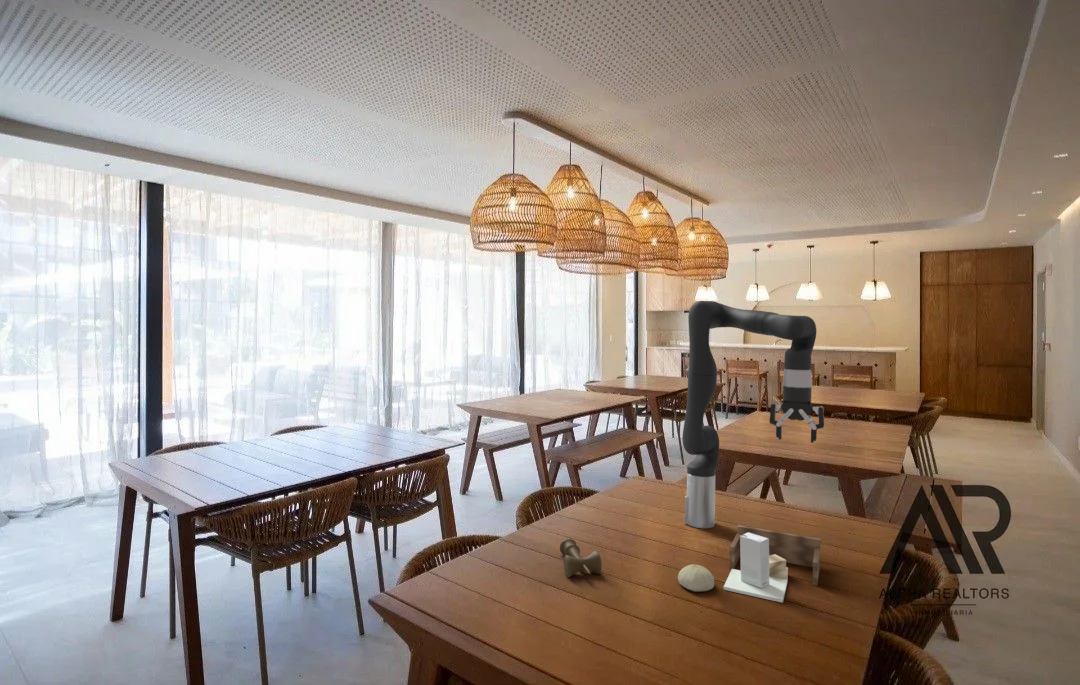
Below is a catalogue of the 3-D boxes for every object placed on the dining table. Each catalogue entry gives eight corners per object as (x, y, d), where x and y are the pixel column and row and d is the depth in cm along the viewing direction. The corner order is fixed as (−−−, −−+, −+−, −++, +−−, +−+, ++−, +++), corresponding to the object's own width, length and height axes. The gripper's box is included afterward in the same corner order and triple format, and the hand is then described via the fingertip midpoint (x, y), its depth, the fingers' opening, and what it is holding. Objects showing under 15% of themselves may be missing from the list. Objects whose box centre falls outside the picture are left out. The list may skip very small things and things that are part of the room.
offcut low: (755, 577, 153) (755, 568, 153) (755, 571, 157) (756, 562, 157) (787, 582, 150) (787, 573, 150) (787, 576, 154) (787, 567, 153)
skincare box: (770, 584, 146) (770, 537, 146) (761, 589, 143) (762, 542, 143) (747, 576, 151) (748, 531, 150) (738, 581, 148) (739, 535, 148)
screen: (729, 568, 158) (730, 539, 157) (737, 551, 169) (738, 525, 169) (817, 585, 147) (818, 555, 147) (819, 567, 159) (820, 538, 158)
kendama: (583, 554, 168) (607, 582, 149) (552, 558, 166) (572, 587, 146) (582, 534, 168) (607, 559, 149) (551, 538, 166) (571, 564, 146)
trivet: (723, 589, 145) (723, 586, 145) (731, 571, 155) (732, 568, 155) (782, 602, 138) (782, 599, 138) (787, 582, 149) (787, 579, 149)
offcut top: (768, 572, 150) (768, 563, 150) (757, 566, 154) (757, 557, 154) (786, 569, 152) (786, 560, 152) (774, 563, 156) (775, 554, 156)
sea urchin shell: (715, 572, 151) (714, 559, 145) (714, 602, 146) (713, 590, 140) (679, 567, 154) (678, 554, 148) (677, 596, 149) (675, 585, 143)
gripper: (769, 384, 164) (768, 440, 164) (824, 387, 157) (823, 445, 157) (772, 382, 170) (771, 436, 171) (825, 385, 163) (824, 441, 164)
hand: (796, 440), depth 164 cm, fingers open, 8 cm apart
